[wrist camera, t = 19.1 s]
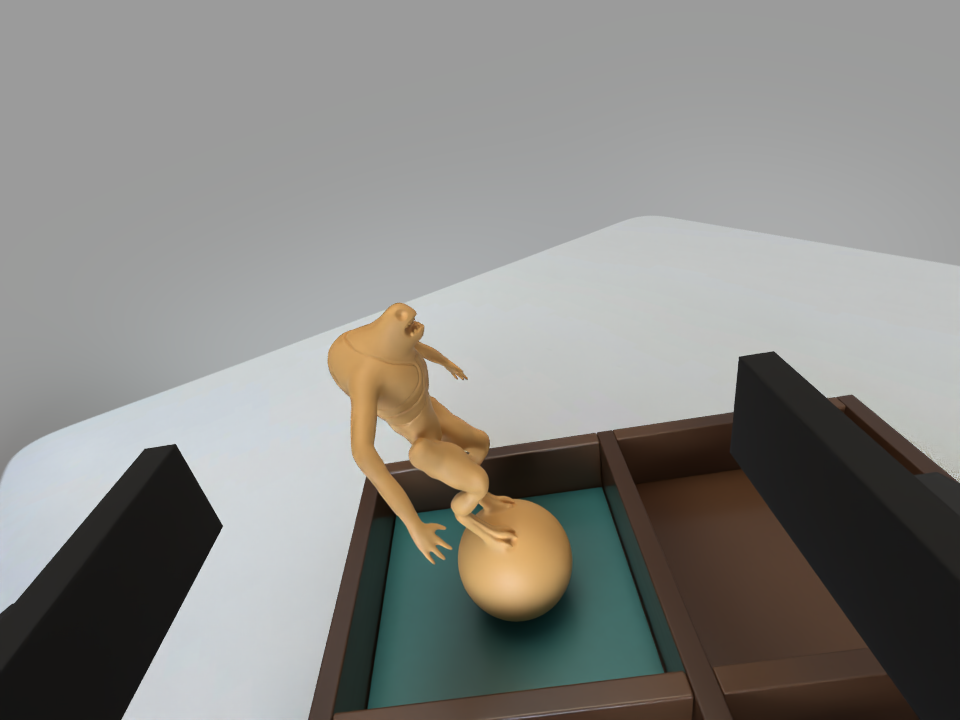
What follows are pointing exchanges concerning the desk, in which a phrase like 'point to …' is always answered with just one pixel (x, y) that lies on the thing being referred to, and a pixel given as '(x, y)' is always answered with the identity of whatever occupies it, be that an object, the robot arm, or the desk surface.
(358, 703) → the divided tray
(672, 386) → the desk surface
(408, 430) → the figurine
